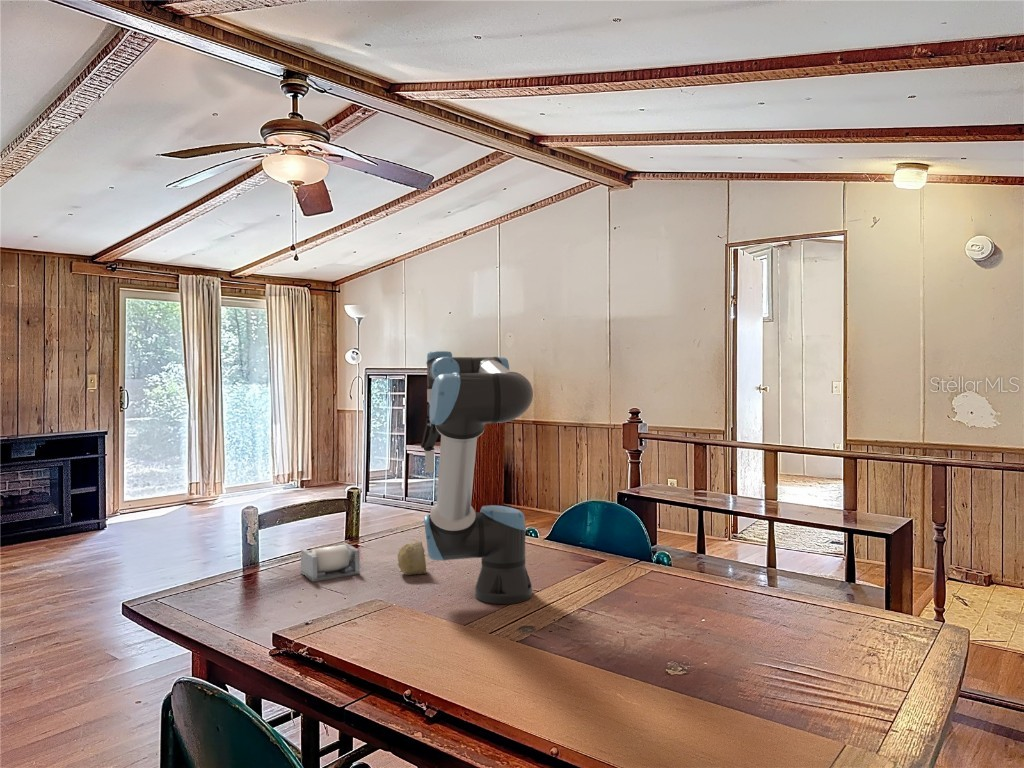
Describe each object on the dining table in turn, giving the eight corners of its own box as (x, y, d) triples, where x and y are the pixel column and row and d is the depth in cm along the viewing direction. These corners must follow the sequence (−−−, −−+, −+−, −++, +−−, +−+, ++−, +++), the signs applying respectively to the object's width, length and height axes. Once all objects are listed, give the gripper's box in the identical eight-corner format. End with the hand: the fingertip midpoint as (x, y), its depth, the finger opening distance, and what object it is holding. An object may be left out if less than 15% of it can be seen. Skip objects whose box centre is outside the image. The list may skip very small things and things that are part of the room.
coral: (438, 553, 204) (405, 541, 202) (423, 585, 204) (391, 573, 202) (436, 542, 213) (405, 531, 211) (422, 573, 213) (391, 561, 211)
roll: (341, 567, 213) (340, 543, 214) (350, 569, 207) (348, 545, 208) (311, 572, 208) (310, 548, 208) (319, 575, 202) (318, 550, 203)
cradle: (346, 565, 217) (346, 542, 216) (359, 573, 207) (359, 550, 207) (300, 572, 209) (300, 549, 209) (312, 582, 200) (312, 557, 199)
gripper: (472, 404, 202) (473, 478, 202) (431, 401, 222) (431, 469, 222) (450, 405, 197) (450, 481, 198) (409, 402, 218) (410, 471, 218)
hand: (440, 474), depth 210 cm, fingers open, 13 cm apart
